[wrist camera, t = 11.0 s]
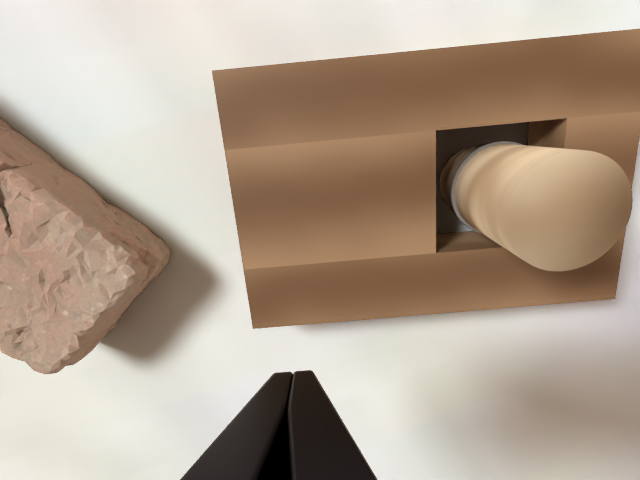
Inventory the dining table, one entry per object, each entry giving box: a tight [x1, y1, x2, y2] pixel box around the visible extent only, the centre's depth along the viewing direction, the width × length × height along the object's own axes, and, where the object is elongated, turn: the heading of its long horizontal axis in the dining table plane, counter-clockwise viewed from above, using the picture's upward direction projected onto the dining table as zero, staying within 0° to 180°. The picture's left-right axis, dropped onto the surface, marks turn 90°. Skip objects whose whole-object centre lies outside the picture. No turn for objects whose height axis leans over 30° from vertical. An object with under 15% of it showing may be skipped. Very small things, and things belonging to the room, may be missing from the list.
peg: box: [440, 141, 632, 271], centre depth 16 cm, size 4×4×8 cm
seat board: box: [212, 29, 640, 329], centre depth 18 cm, size 12×18×3 cm, turn 95°
